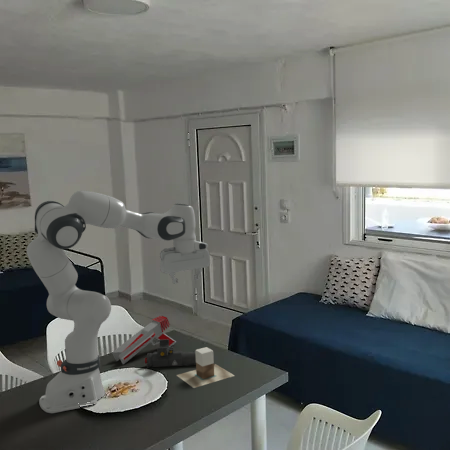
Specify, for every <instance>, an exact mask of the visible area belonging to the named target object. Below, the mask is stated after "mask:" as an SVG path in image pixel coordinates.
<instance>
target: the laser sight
mask: <svg viewBox="0 0 450 450" xmlns="http://www.w3.org/2000/svg"><path fill="white" fill-rule="evenodd" d="M156 350H157V351H153V353H152V352H147V354H146V357H144V364H146V368H147V369H150V368H164V367H165V368H166V367H169V368H170V367H182V366H196V353H195V351H182V350H174V346H171V347H169V339H164V340H160V343H159V347H157V349H156Z"/></svg>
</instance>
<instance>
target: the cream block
mask: <svg viewBox="0 0 450 450" xmlns="http://www.w3.org/2000/svg"><path fill="white" fill-rule="evenodd" d="M194 352H195V353H196V363H198V364H199V365H201V366H206V365H210V364H213V363H214V361H215V359H214V357H215V356H214V350H213V349H211V348H210V347H207V346H206V347H205V346H204V347H202V348H201V347H200V348H197V349H195V351H194ZM214 364H215V363H214Z"/></svg>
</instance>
